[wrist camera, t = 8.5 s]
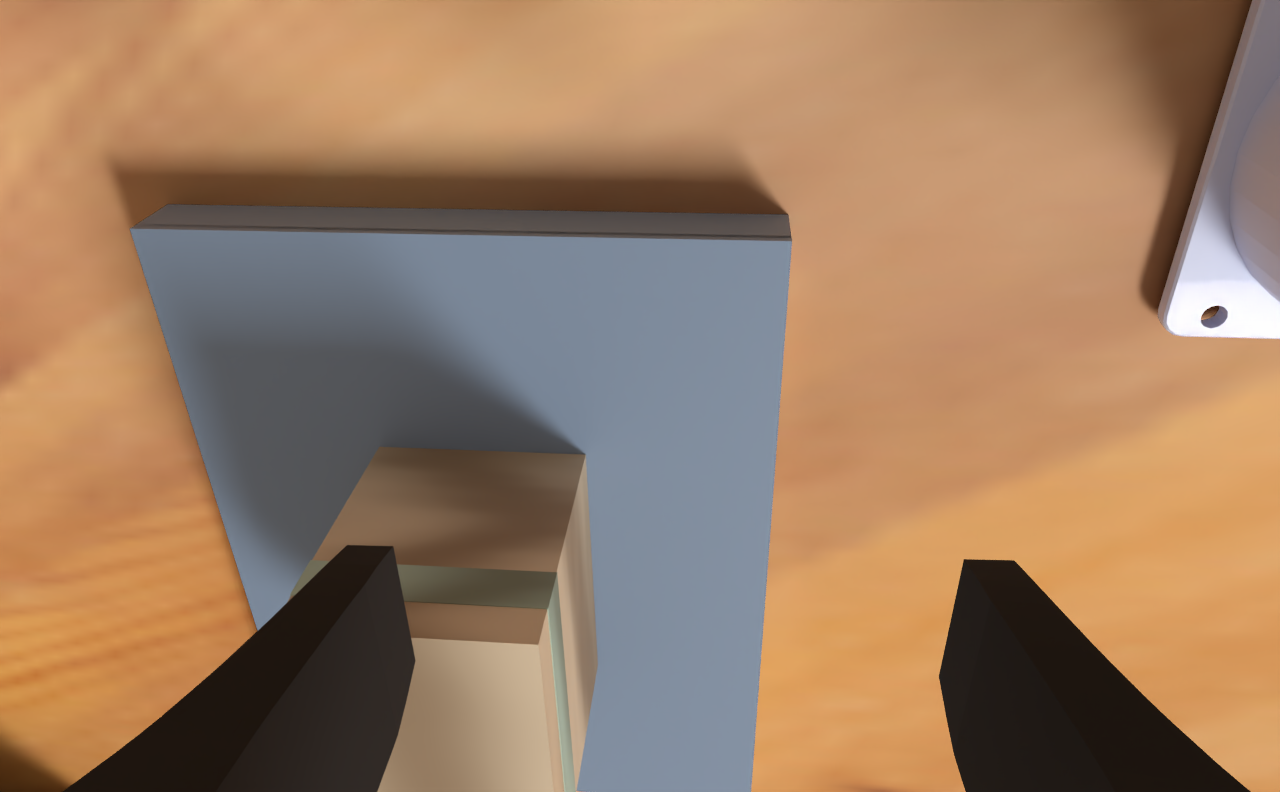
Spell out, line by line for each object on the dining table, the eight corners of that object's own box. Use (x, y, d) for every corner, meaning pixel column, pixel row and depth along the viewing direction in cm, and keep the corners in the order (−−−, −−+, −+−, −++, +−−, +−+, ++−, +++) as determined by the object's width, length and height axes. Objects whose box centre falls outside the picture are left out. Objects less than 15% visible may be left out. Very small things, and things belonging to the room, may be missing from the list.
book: (787, 207, 20) (791, 241, 18) (749, 747, 29) (749, 803, 28) (177, 197, 21) (129, 228, 20) (326, 719, 31) (302, 771, 29)
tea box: (586, 453, 22) (539, 644, 17) (598, 665, 25) (563, 874, 20) (378, 446, 22) (269, 628, 17) (419, 655, 26) (340, 857, 21)
